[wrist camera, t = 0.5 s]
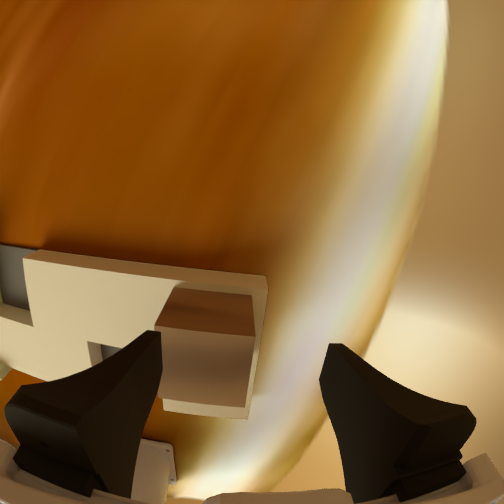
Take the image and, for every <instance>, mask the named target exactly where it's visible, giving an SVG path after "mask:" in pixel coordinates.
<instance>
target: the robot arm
mask: <svg viewBox="0 0 504 504" xmlns="http://www.w3.org/2000/svg"><path fill="white" fill-rule="evenodd" d="M162 372H163V361H162V344H161V332H160V331H153V330H146V331H145V332H144V333H142V334H141V335H140V336H138V337H137V338H136V339H134V340H133V341H132V342H130V343H129V344H128V345H126V346H125V347H124V348H122V349H121V350H119V351H118V352H116V353H115V354H113V355H112V356H110V357H108V358H107V359H105V360H104V361H102V362H100V363H98V364H96V365H94V366H92V367H90V368H88V369H86V370H83V371H81V372H78V373H75V374H73V375H70V376H67V377H64V378H61V379H57V380H53V381H48V382H43V383H37V384H29V385H22V386H21V387H20V388H19V389H18V390H17V392H16V393H15V394H14V395H13V397H12V398H11V399H10V401H9V402H8V403H7V404H6V406H5V409H4V411H5V417H6V419H7V421H8V424H9V425H10V427H11V429H12V431H13V432H14V434H15V436H16V437H17V439H18V441H19V442H20V444H21V445H20V447H19V449H18V450H16V449H15V448H14V447H13V446H12V445H10V444H9V443H7V442H5V441H3V440H1V439H0V504H165V502H166V496H167V490H168V484H172V485H176V484H177V479H176V471H175V463H174V454H173V446H172V445H171V444H168V443H163V442H157V441H152V440H146V439H141V437H142V433H143V429H144V426H145V423H146V421H147V418H148V415H149V413H150V410H151V407H152V405H153V402H154V399H155V397H156V394H157V391H158V389H159V385H160V381H161V376H162ZM319 382H320V387H321V392H322V397H323V400H324V403H325V406H326V409H327V412H328V415H329V418H330V420H331V423H332V426H333V429H334V431H335V434H336V438H337V441H338V445H339V450H340V455H341V460H342V466H343V472H344V479H345V486H346V491H344V490H342V489H318V490H307V491H293V492H266V493H252V492H238V493H222V494H219V495H216V496H212V497H209V498H207V499H206V500H205V501H204V503H203V504H496V503H497V502H498V501H499V500H500V499H501V498H502V497H503V496H504V479H503V477H502V476H501V474H500V473H499V471H498V470H497V468H496V467H495V465H494V464H493V462H492V461H491V460H490V458H489V457H488V455H487V454H486V453H483V454H481V455H479V456H477V457H475V458H473V459H470V460H468V461H467V462H465V463H464V464H463V465H462V463H461V462H460V459H461V458H462V454H461V452H460V451H459V450H460V449H461V448H462V446H463V445H464V443H465V442H466V441H467V440H468V438H469V437H470V435H471V434H472V432H473V430H474V428H475V426H476V418H475V417H474V415H473V414H472V413H471V411H470V410H469V409H468V407H467V406H464V405H458V404H452V403H448V402H443V401H440V400H437V399H433V398H430V397H428V396H424V395H422V394H420V393H417V392H415V391H412V390H410V389H408V388H406V387H404V386H402V385H401V384H399V383H397V382H395V381H393V380H392V379H390V378H388V377H387V376H385V375H384V374H382V373H381V372H379V371H378V370H376V369H375V368H374V367H372V366H371V365H370V364H368V363H367V362H366V361H364V360H363V359H362V358H361V357H359V356H358V355H357V354H356V353H354V352H353V351H352V350H350V349H349V348H348V347H346V346H345V345H343V344H338V343H329V345H328V349H327V353H326V357H325V360H324V364H323V367H322V371H321V374H320V378H319Z"/></svg>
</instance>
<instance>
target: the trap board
mask: <svg viewBox="0 0 504 504" xmlns="http://www.w3.org/2000/svg"><path fill="white" fill-rule="evenodd" d="M173 287H178V288H187V289H196V290H205V291H214V292H224V293H234V294H244V295H252V302H253V313H254V323H255V334H256V338H255V345H254V352H253V358H252V365H251V372H250V378H249V384H248V391H247V397H246V404H245V408H243V407H229V406H218V405H208V404H199V403H190V402H183V401H176V400H169V399H163V408H164V410H165V411H171V412H178V413H185V414H193V415H201V416H211V417H221V418H234V419H248V414H249V408H250V402H251V396H252V390H253V384H254V378H255V372H256V366H257V360H258V354H259V348H260V341H261V335H262V329H263V322H264V316H265V309H266V303H267V296H268V290H269V289H268V285H267V281H266V276H263V275H253V274H242V273H233V272H223V271H213V270H204V269H195V268H185V267H176V266H168V265H159V264H150V263H142V262H134V261H125V260H117V259H109V258H101V257H93V256H86V255H78V254H71V253H63V252H56V251H49V250H42V249H39V250H38V249H31V248H24V247H17V246H10V245H4V244H0V380H2V379H3V378H4V377H5V376H6V375H7V373H8V372H9V371H10V370H11V369H12V368H14V369H16V370H19V371H21V372H24V373H26V374H29V375H32V376H34V377H37V378H40V379H43V380H46V381H53V380H57V379H61V378H64V377H67V376H70V375H73V374H75V373H78V372H81V371H83V370H86V369H88V368H90V367H92V366H94V365H96V364H98V363H100V362H102V361H104V360H105V359H107V358H108V357H110V356H112V355H113V354H115V353H116V352H118V351H119V350H121V349H122V348H124V347H125V346H126V345H128V344H129V343H130V342H132V341H133V340H134V339H136V338H137V337H138V336H140V335H141V334H142V333H144V332H145V331H146V330H153V331H154V324H155V322H156V320H157V318H158V316H159V314H160V313H161V311H162V309H163V307H164V305H165V303H166V301H167V299H168V297H169V295H170V293H171V291H172V289H173ZM157 392H158V391H157Z"/></svg>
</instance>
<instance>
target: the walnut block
mask: <svg viewBox="0 0 504 504" xmlns="http://www.w3.org/2000/svg"><path fill="white" fill-rule="evenodd" d="M154 331H160V332H161V344H162V361H163V372H162V376H161V381H160V385H159V389H158V398H163V399H169V400H176V401H183V402H190V403H199V404H208V405H218V406H229V407H243V408H245V404H246V397H247V391H248V384H249V378H250V372H251V365H252V358H253V352H254V345H255V338H256V334H255V323H254V313H253V302H252V295H244V294H234V293H224V292H214V291H205V290H196V289H187V288H178V287H173V289H172V291H171V293H170V295H169V297H168V299H167V301H166V303H165V305H164V307H163V309H162V311H161V313H160V314H159V316H158V318H157V320H156V322H155V324H154Z"/></svg>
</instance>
